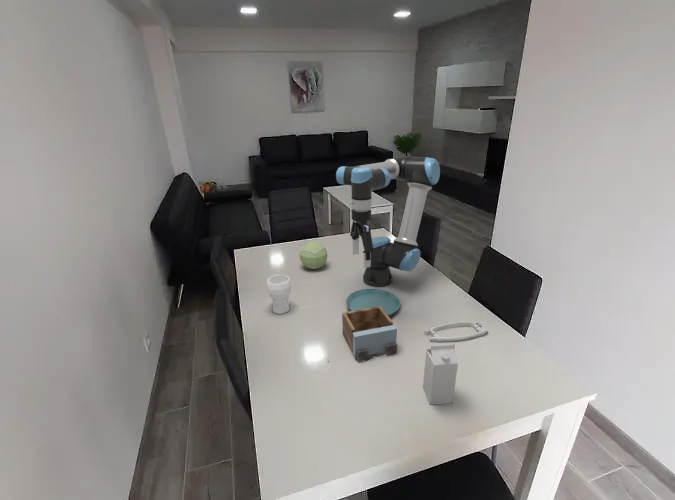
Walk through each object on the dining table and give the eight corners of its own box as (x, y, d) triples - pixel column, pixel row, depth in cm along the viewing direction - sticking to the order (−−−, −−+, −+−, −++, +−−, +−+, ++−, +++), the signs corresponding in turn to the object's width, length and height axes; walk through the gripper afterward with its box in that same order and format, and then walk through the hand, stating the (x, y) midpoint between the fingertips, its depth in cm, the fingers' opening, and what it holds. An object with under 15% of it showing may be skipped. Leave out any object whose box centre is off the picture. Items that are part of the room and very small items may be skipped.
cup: (288, 316, 153) (286, 286, 147) (265, 314, 155) (262, 284, 149) (296, 304, 162) (293, 275, 157) (274, 302, 164) (271, 273, 159)
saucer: (338, 317, 152) (338, 310, 151) (354, 291, 173) (354, 285, 172) (394, 327, 145) (394, 320, 143) (403, 298, 166) (404, 292, 164)
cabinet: (379, 327, 144) (380, 306, 140) (398, 353, 129) (399, 330, 125) (342, 334, 140) (342, 312, 136) (356, 362, 125) (356, 338, 121)
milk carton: (422, 387, 113) (427, 338, 106) (444, 386, 113) (450, 336, 106) (429, 405, 106) (435, 353, 99) (452, 403, 107) (459, 352, 100)
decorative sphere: (332, 265, 201) (331, 241, 196) (317, 275, 190) (316, 249, 184) (311, 260, 209) (310, 236, 203) (295, 269, 197) (293, 244, 192)
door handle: (421, 331, 142) (477, 323, 146) (432, 346, 133) (491, 337, 137) (421, 326, 140) (478, 317, 145) (432, 341, 132) (492, 331, 136)
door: (393, 345, 132) (394, 324, 129) (395, 349, 130) (397, 328, 127) (352, 353, 128) (352, 332, 125) (355, 357, 126) (354, 336, 123)
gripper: (342, 202, 144) (343, 250, 152) (363, 219, 121) (362, 274, 129) (359, 200, 145) (359, 248, 153) (383, 217, 123) (381, 271, 131)
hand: (361, 260), depth 141 cm, fingers open, 13 cm apart
